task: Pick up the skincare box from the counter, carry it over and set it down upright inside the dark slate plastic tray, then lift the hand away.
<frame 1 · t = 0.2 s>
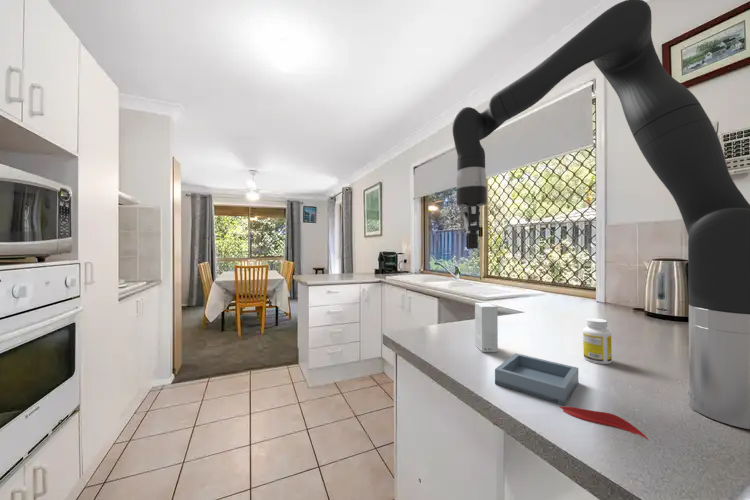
hand: (471, 248, 78), 27 cm above the table, fingers open, 8 cm apart
tray: (536, 383, 59), on the table
cayenne pepper: (600, 424, 46), on the table
skincare box: (485, 349, 79), on the table
supplement bottle: (597, 361, 71), on the table
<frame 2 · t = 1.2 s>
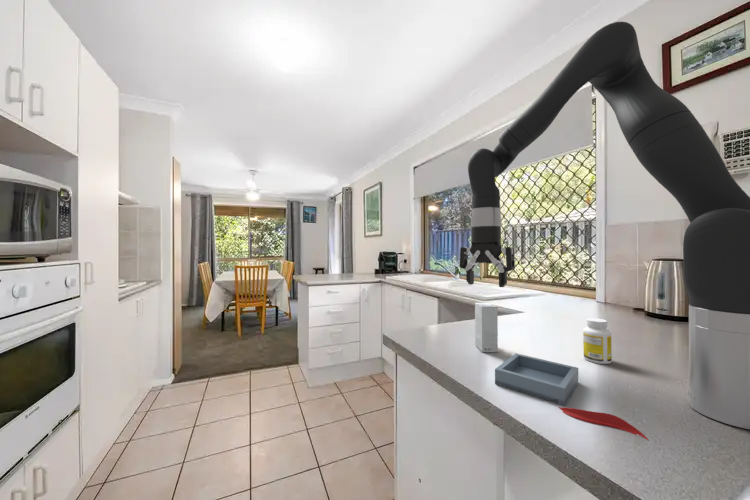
hand: (485, 285, 79), 17 cm above the table, fingers open, 8 cm apart
nothing on the table moved.
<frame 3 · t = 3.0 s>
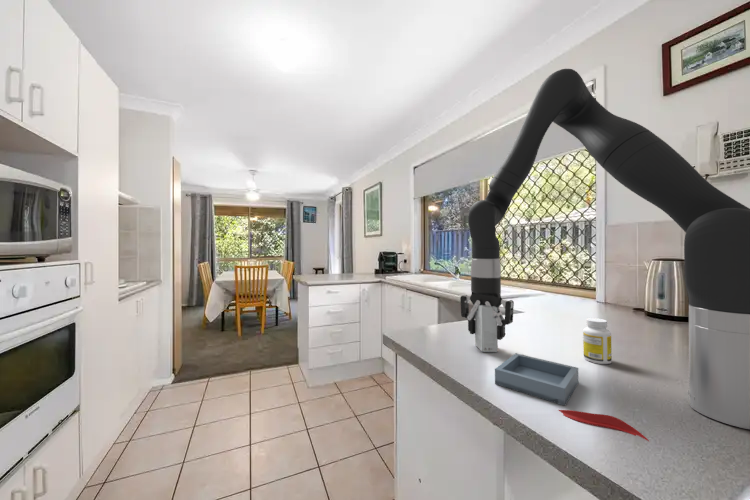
hand: (485, 336, 80), 3 cm above the table, fingers closed on skincare box, 7 cm apart
skincare box: (485, 349, 79), on the table, touching gripper
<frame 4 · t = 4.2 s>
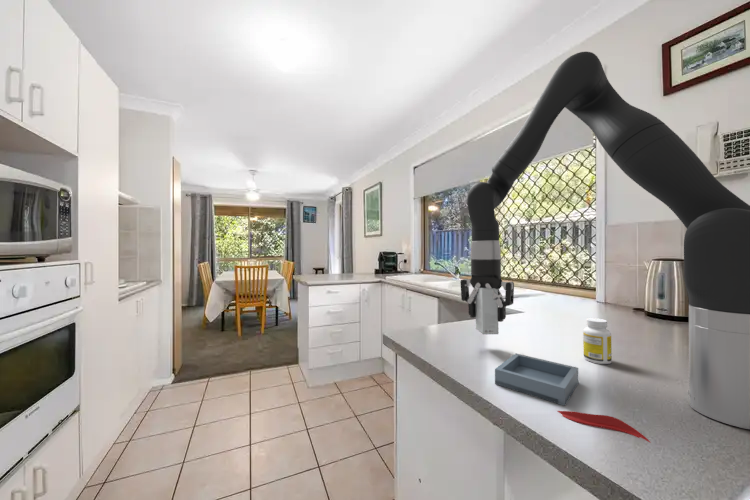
hand: (486, 319, 79), 8 cm above the table, fingers closed on skincare box, 7 cm apart
skincare box: (486, 332, 79), point 4 cm above the table, touching gripper
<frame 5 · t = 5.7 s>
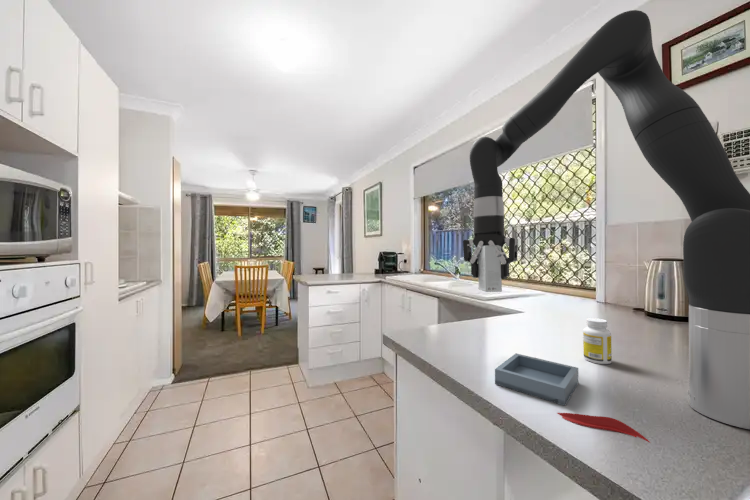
hand: (489, 277, 78), 19 cm above the table, fingers closed on skincare box, 7 cm apart
skincare box: (489, 291, 78), point 16 cm above the table, touching gripper
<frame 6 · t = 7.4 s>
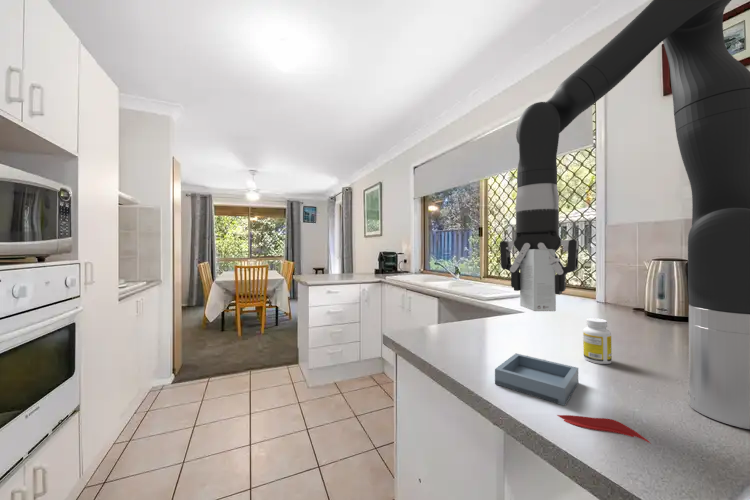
hand: (537, 291, 59), 18 cm above the table, fingers closed on skincare box, 7 cm apart
skincare box: (537, 309, 59), point 15 cm above the table, touching gripper
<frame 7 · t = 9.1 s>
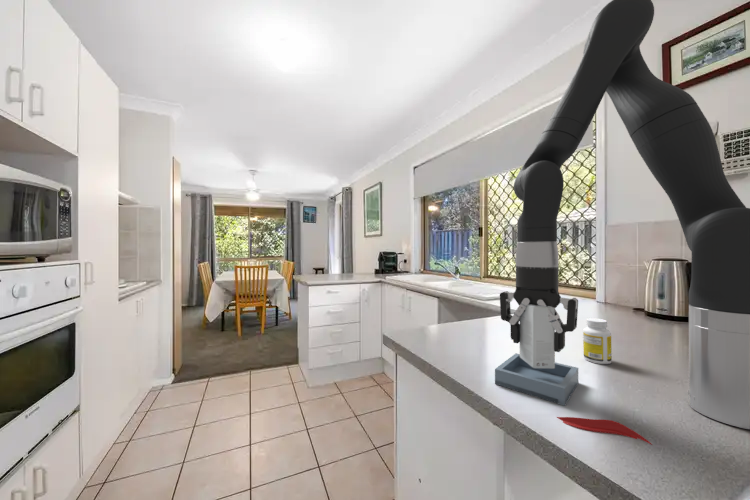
hand: (536, 346, 59), 7 cm above the table, fingers closed on skincare box, 7 cm apart
skincare box: (536, 363, 59), point 4 cm above the table, touching gripper
when the fingers open (6 cm above the table, at t = 10.2 s): skincare box drops 2 cm, resting on tray.
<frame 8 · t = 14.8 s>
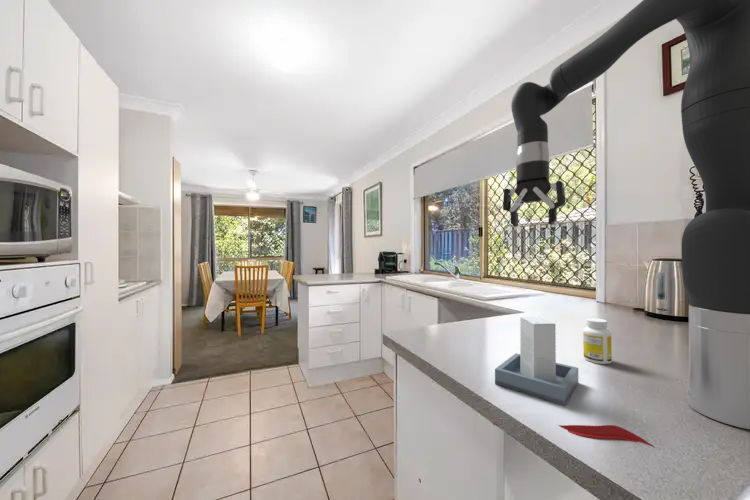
hand: (532, 225, 77), 33 cm above the table, fingers open, 8 cm apart
cayenne pepper: (603, 439, 43), on the table
skincare box: (537, 380, 59), point 1 cm above the table, touching tray
everything else where it was.
at the end: skincare box inside the target area on the tray (0.1 cm from its centre), point 0.6 cm above the tray's base; skincare box tilted 0°; the gripper is holding nothing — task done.
